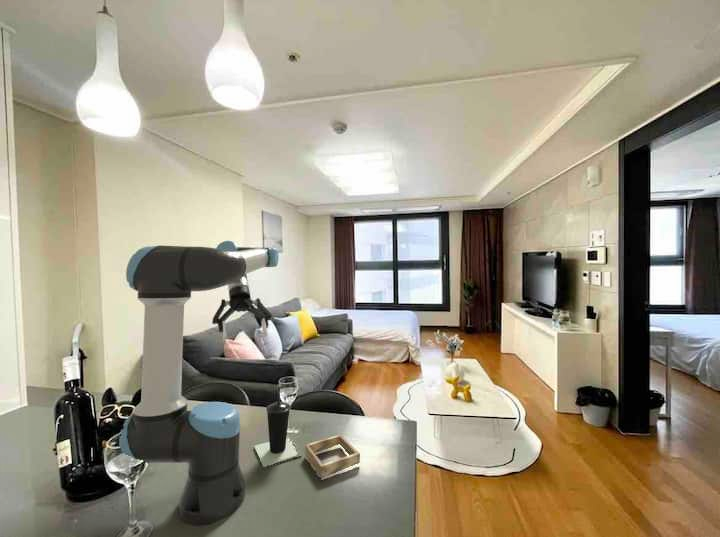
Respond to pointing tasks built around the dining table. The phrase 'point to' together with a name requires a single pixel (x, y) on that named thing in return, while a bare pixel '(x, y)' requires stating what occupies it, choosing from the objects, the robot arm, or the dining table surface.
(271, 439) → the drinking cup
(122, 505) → the dining table surface
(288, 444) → the sage mat
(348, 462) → the oak crate frame
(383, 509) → the dining table surface
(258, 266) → the robot arm
